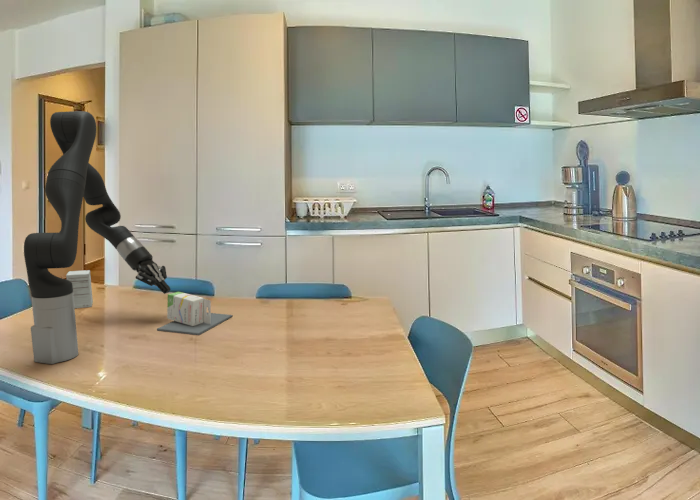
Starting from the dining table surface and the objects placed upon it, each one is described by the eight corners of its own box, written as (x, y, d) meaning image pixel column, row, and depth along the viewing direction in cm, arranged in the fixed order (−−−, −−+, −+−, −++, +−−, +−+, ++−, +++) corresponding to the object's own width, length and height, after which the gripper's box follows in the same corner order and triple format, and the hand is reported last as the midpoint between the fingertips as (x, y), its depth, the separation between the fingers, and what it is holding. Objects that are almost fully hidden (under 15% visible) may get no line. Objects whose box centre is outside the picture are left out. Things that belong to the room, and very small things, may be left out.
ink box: (166, 294, 152) (199, 302, 145) (178, 291, 156) (211, 299, 149) (166, 319, 153) (199, 329, 146) (178, 316, 157) (211, 325, 151)
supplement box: (70, 304, 175) (68, 271, 173) (93, 302, 178) (90, 269, 176) (68, 309, 168) (65, 275, 166) (91, 307, 171) (89, 273, 169)
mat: (199, 335, 142) (199, 333, 142) (157, 330, 146) (156, 328, 146) (232, 316, 161) (232, 314, 161) (194, 312, 165) (194, 311, 165)
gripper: (126, 248, 149) (161, 289, 147) (154, 243, 161) (186, 280, 160) (113, 264, 151) (148, 303, 149) (141, 257, 163) (173, 294, 162)
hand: (167, 291), depth 155 cm, fingers closed
